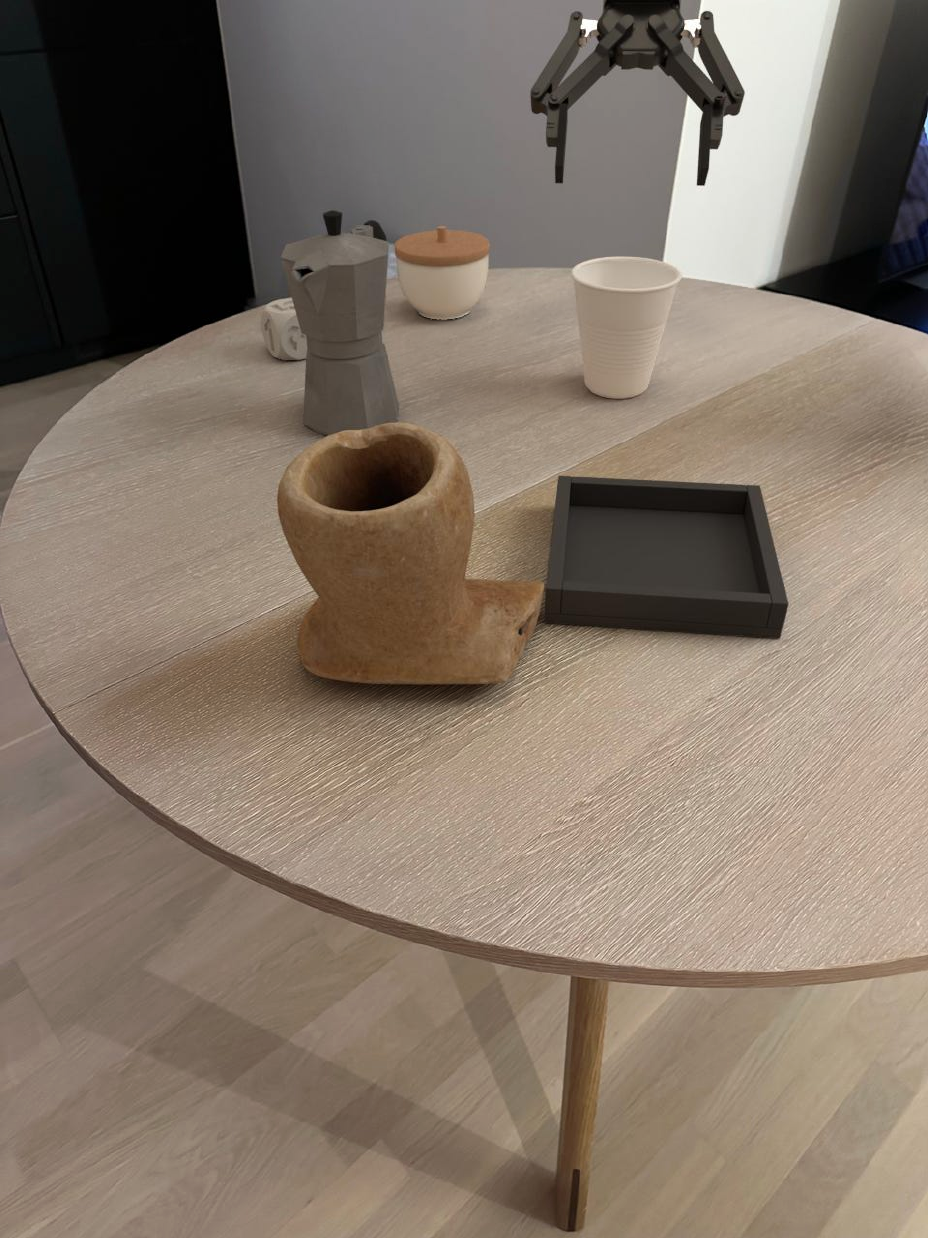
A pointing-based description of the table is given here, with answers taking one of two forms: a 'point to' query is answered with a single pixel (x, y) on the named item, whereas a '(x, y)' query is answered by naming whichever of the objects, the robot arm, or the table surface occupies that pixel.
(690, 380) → the table surface
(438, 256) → the trinket box
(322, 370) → the coffeepot
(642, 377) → the cup
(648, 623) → the tray
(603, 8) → the robot arm
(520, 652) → the stone cup
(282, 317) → the die
